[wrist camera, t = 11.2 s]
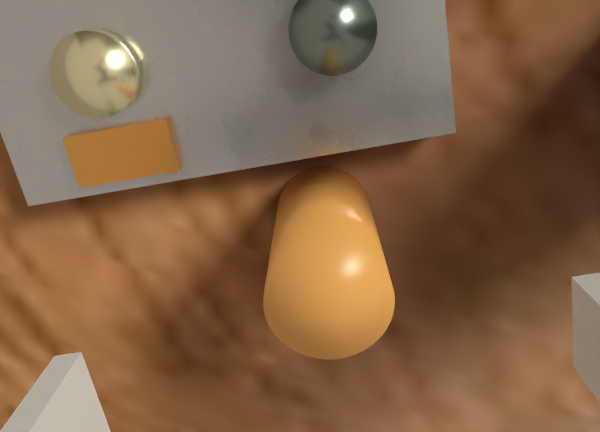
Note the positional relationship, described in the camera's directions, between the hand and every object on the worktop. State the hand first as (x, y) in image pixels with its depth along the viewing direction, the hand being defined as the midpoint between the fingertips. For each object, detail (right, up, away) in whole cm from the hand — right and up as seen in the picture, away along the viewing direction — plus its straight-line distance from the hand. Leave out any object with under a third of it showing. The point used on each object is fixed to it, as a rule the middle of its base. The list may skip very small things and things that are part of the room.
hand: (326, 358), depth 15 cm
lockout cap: (0, +4, +10) cm, 10 cm away
